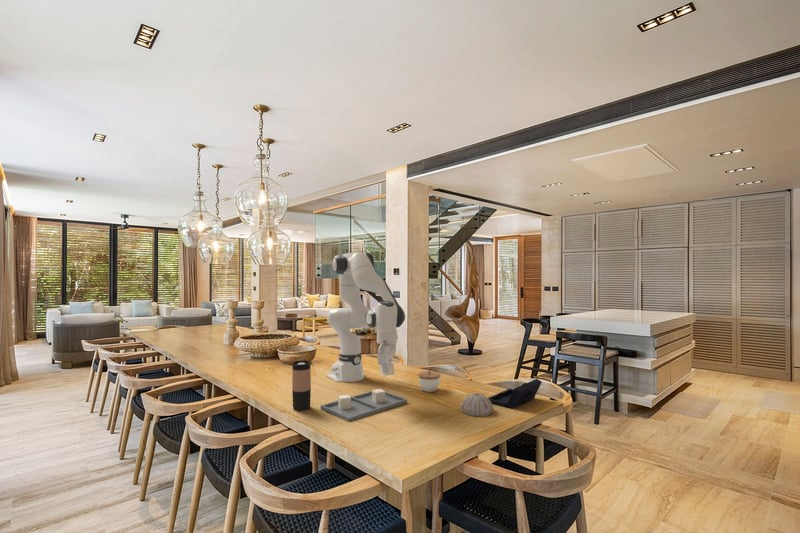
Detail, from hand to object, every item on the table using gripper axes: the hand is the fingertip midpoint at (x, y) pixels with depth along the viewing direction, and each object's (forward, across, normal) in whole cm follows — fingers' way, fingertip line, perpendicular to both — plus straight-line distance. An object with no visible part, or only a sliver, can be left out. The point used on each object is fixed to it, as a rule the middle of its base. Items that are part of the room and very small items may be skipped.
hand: (387, 370), depth 175 cm
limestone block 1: (+15, -8, +17) cm, 24 cm away
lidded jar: (+16, +25, -16) cm, 34 cm away
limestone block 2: (+15, +2, +4) cm, 16 cm away
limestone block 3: (+2, 0, 0) cm, 2 cm away
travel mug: (+16, -11, +35) cm, 40 cm away
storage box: (+16, +14, -55) cm, 59 cm away
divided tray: (+16, -4, +9) cm, 19 cm away
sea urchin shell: (+16, -2, -39) cm, 42 cm away
